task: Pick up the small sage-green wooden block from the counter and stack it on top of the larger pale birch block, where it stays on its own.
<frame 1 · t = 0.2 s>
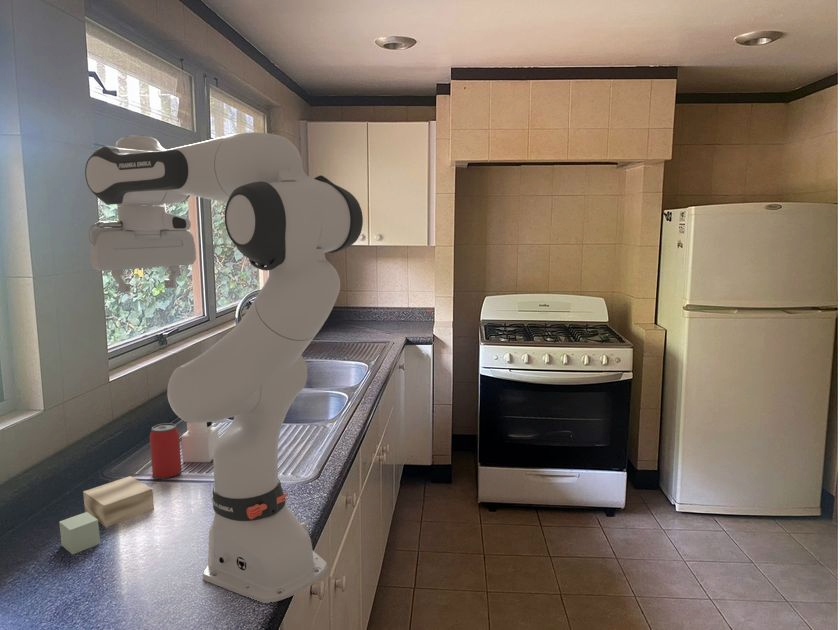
hand: (148, 290, 124), 47 cm above the worktop, tool pointing down, fingers open, 8 cm apart
medicine bottle: (201, 458, 160), on the worktop
beer can: (167, 474, 149), on the worktop
birch block: (119, 511, 131), on the worktop
sage block: (81, 544, 118), on the worktop
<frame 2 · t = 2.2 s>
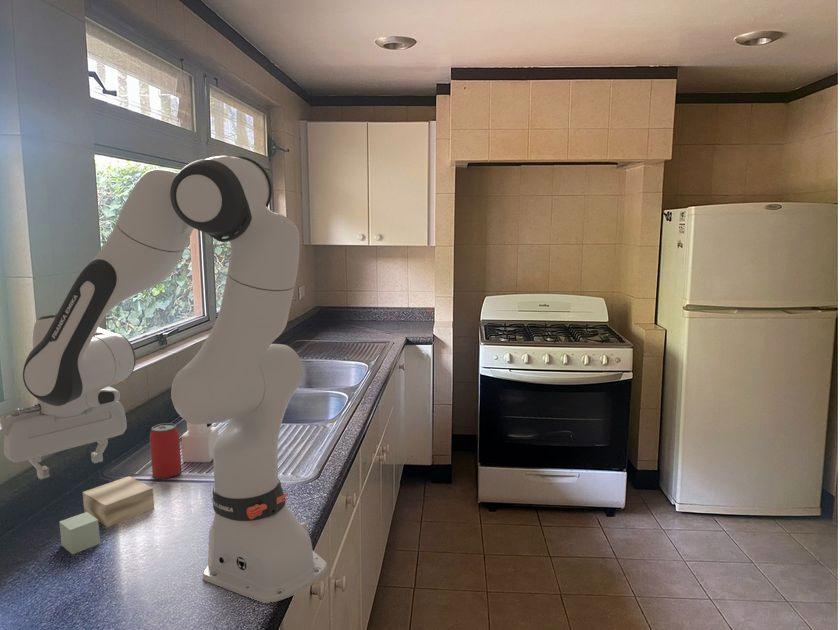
hand: (71, 469, 115), 15 cm above the worktop, tool pointing down, fingers open, 8 cm apart
nothing on the worktop moved.
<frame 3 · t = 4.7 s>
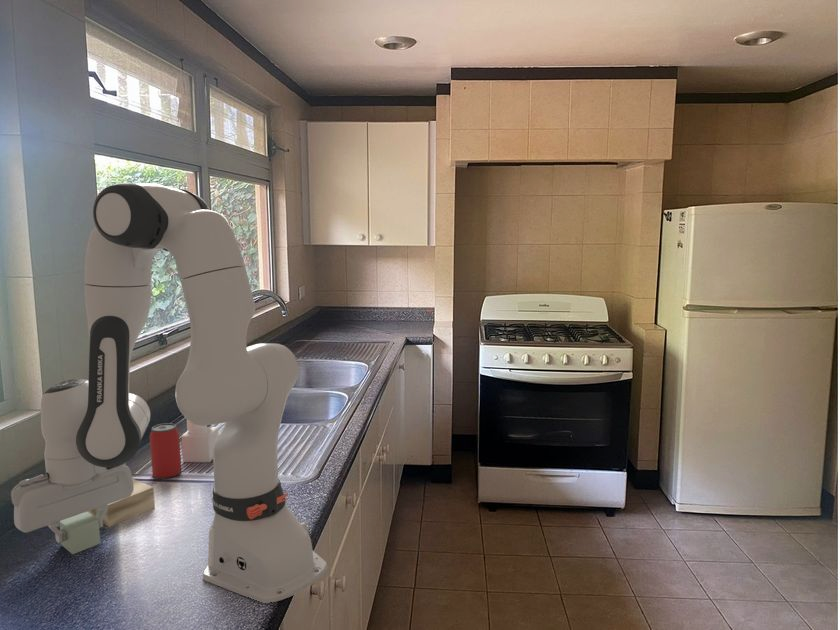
hand: (80, 534, 117), 2 cm above the worktop, tool pointing down, fingers closed on sage block, 5 cm apart
sage block: (81, 544, 118), on the worktop, touching gripper
everything else where it was.
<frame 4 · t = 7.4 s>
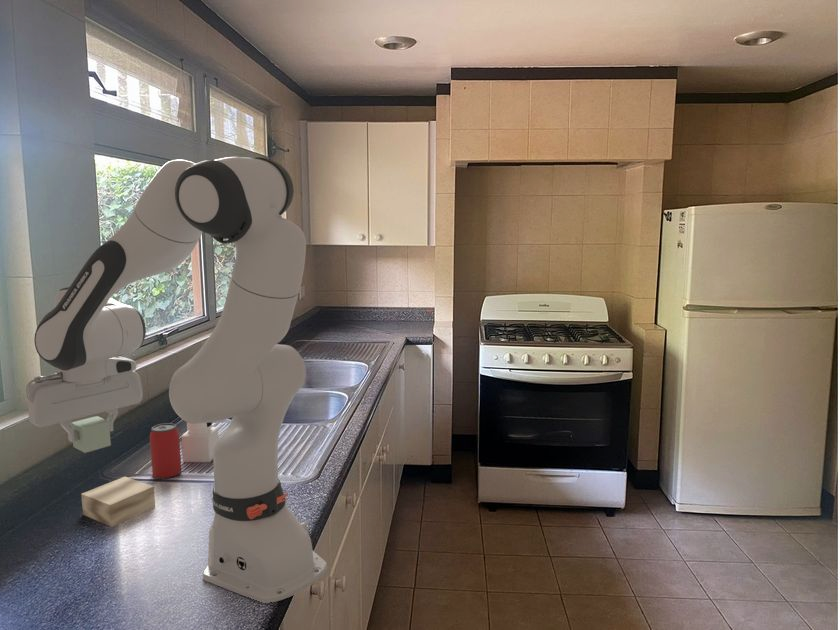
hand: (91, 435, 121), 19 cm above the worktop, tool pointing down, fingers closed on sage block, 5 cm apart
sage block: (92, 446, 121), point 17 cm above the worktop, touching gripper
everything else where it was.
when the fingers open (8 cm above the worktop, at t = 10.3 s): sage block drops 1 cm, point 5 cm above the worktop.
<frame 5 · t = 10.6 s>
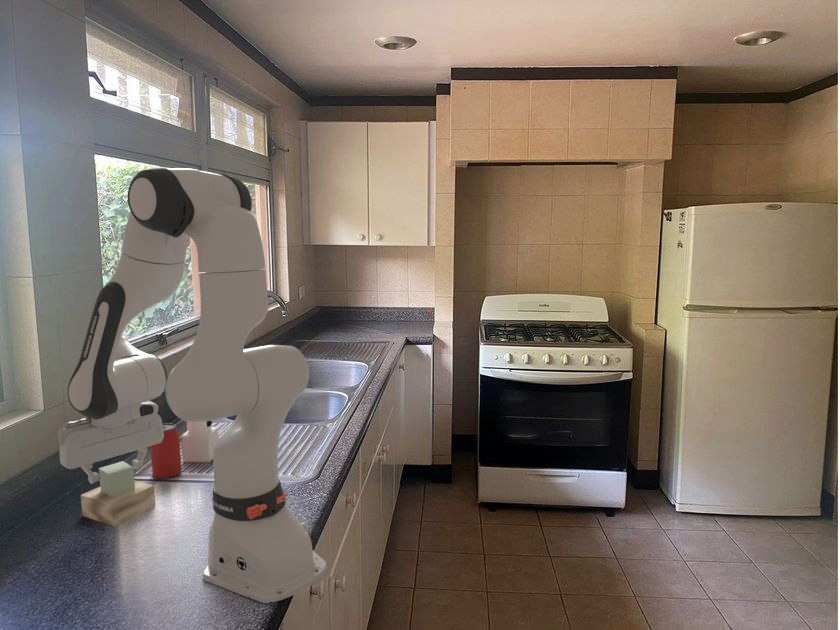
hand: (116, 474, 130), 8 cm above the worktop, tool pointing down, fingers open, 8 cm apart
sage block: (118, 489, 130), point 5 cm above the worktop
everything else where it was.
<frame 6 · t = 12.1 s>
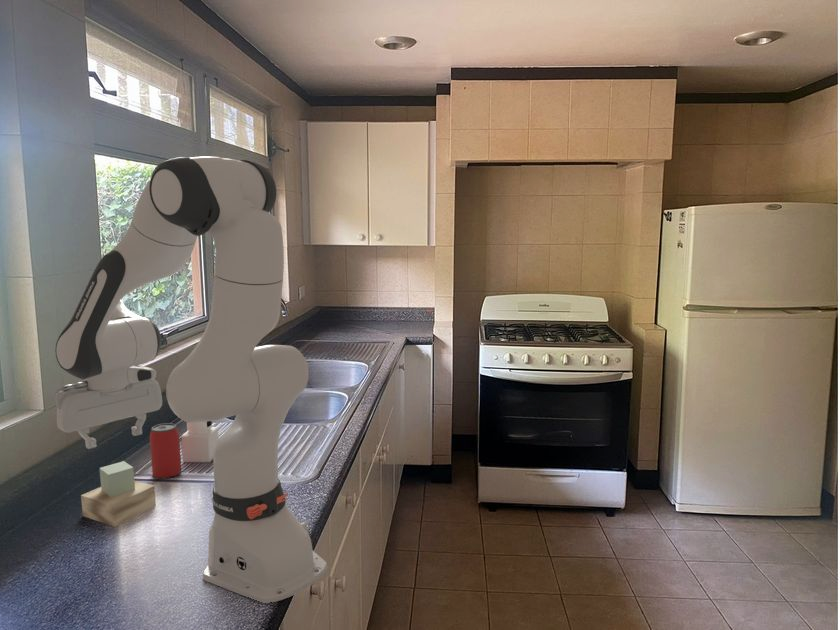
hand: (114, 440, 128), 16 cm above the worktop, tool pointing down, fingers open, 8 cm apart
birch block: (120, 512, 131), on the worktop, touching sage block
sage block: (118, 489, 130), point 5 cm above the worktop, touching birch block
everything else where it was.
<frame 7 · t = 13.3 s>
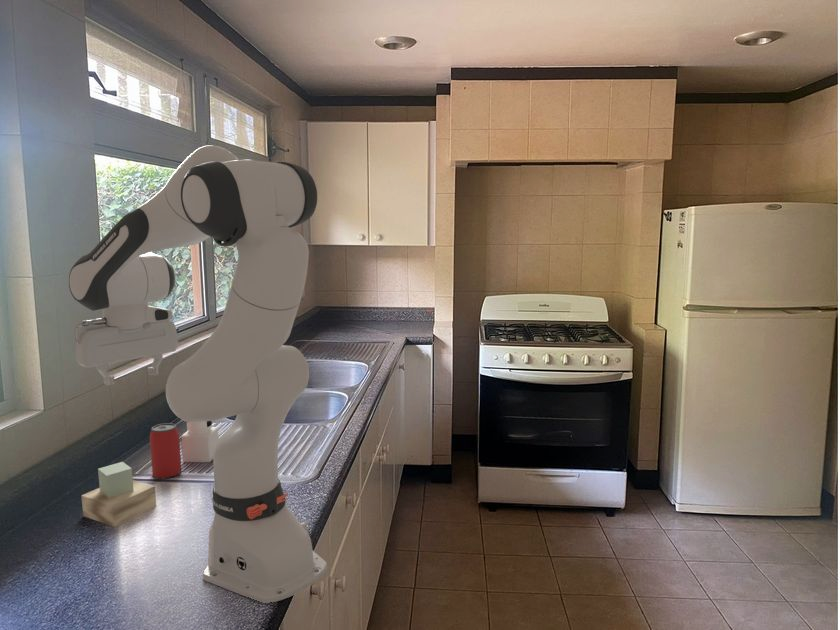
hand: (132, 379, 130), 28 cm above the worktop, tool pointing down, fingers open, 8 cm apart
nothing on the worktop moved.
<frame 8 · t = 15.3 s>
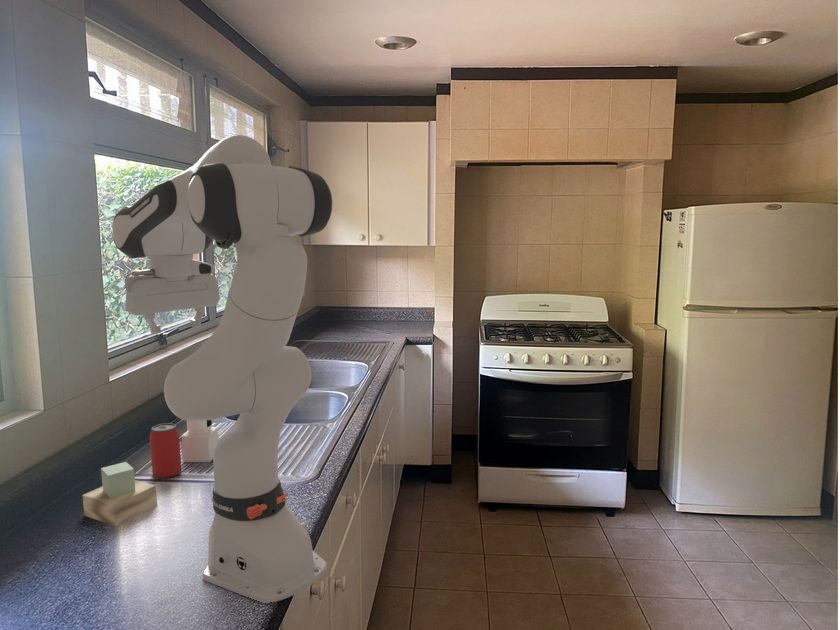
hand: (176, 330, 136), 37 cm above the worktop, tool pointing down, fingers open, 8 cm apart
nothing on the worktop moved.
at the end: sage block 0.3 cm off-centre on the birch block, point 5.0 cm above the birch block's base; sage block tilted 0°; the gripper is holding nothing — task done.
